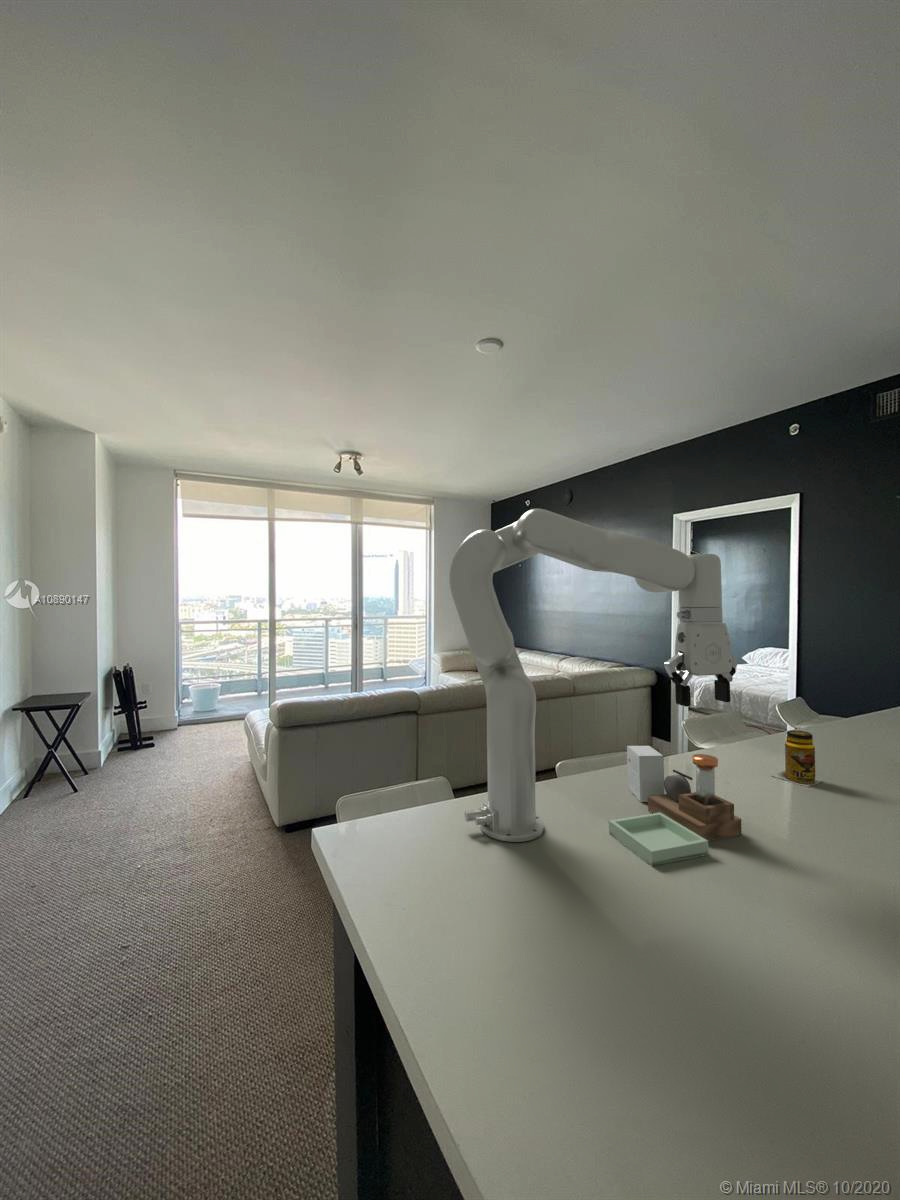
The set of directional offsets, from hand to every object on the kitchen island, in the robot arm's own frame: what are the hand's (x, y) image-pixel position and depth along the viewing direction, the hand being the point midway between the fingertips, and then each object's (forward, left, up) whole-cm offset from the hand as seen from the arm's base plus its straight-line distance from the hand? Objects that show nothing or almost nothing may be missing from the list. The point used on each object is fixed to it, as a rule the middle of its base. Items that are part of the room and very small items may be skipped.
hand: (703, 703), depth 93 cm
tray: (-13, -2, -25) cm, 28 cm away
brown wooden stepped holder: (0, +3, -25) cm, 25 cm away
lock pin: (0, 0, -22) cm, 22 cm away
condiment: (+43, +14, -25) cm, 52 cm away
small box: (0, +17, -25) cm, 31 cm away
